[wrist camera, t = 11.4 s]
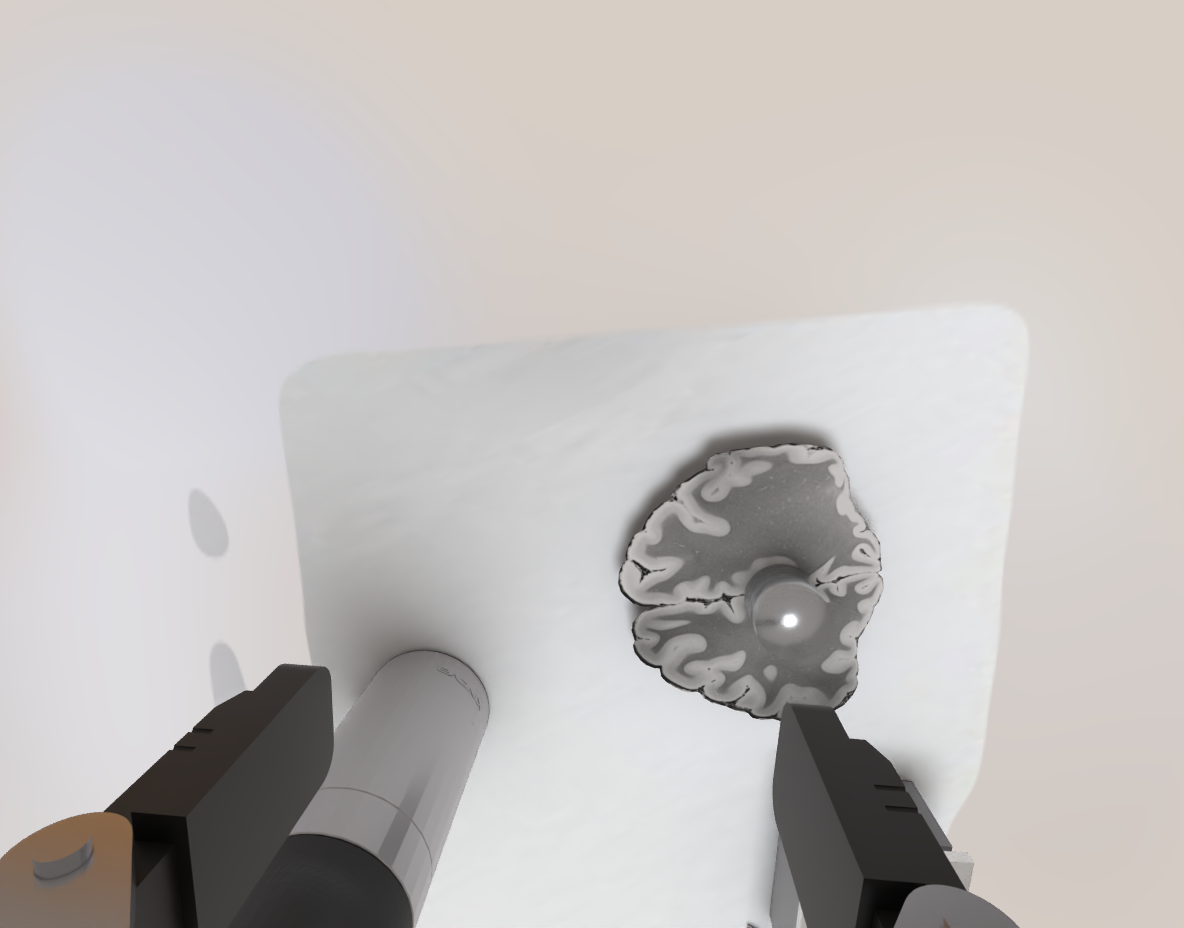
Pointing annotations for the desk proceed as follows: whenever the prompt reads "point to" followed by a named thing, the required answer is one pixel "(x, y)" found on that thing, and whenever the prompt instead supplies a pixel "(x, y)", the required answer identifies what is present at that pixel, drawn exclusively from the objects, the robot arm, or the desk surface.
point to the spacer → (788, 612)
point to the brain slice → (733, 556)
